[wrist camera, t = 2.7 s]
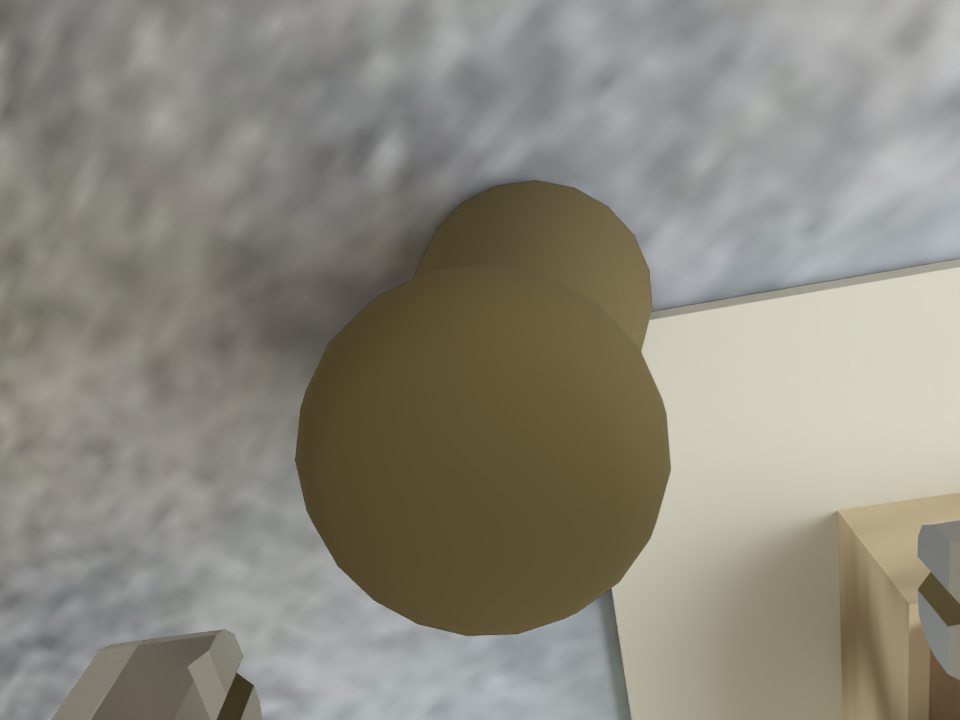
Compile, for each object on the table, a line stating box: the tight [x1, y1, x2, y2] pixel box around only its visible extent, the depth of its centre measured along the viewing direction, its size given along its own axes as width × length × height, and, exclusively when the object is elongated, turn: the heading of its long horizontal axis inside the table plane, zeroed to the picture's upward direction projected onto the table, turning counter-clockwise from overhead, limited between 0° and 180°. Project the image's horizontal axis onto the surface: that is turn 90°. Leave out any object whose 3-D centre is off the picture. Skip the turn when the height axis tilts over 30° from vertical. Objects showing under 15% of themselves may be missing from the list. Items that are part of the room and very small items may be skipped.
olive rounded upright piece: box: [295, 180, 671, 636], centre depth 15 cm, size 6×6×11 cm
